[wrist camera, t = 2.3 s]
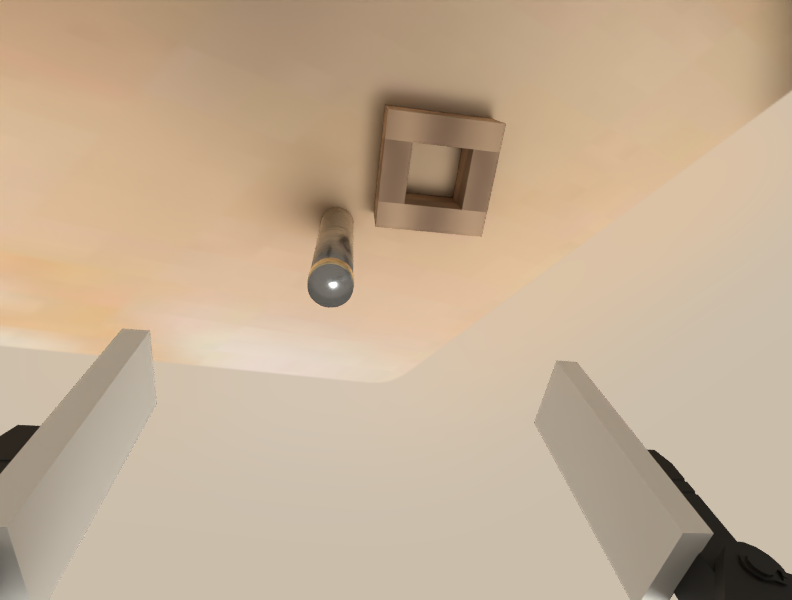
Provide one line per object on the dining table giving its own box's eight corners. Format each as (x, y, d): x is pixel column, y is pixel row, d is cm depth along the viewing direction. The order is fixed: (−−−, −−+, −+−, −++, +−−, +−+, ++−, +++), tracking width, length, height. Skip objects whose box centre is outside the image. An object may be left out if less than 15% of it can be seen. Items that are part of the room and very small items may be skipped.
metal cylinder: (355, 208, 43) (355, 268, 30) (352, 240, 44) (351, 309, 32) (321, 205, 42) (307, 264, 30) (319, 237, 44) (305, 306, 31)
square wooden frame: (492, 118, 40) (506, 124, 36) (471, 222, 44) (481, 236, 41) (385, 104, 39) (388, 108, 35) (373, 213, 43) (375, 226, 39)
